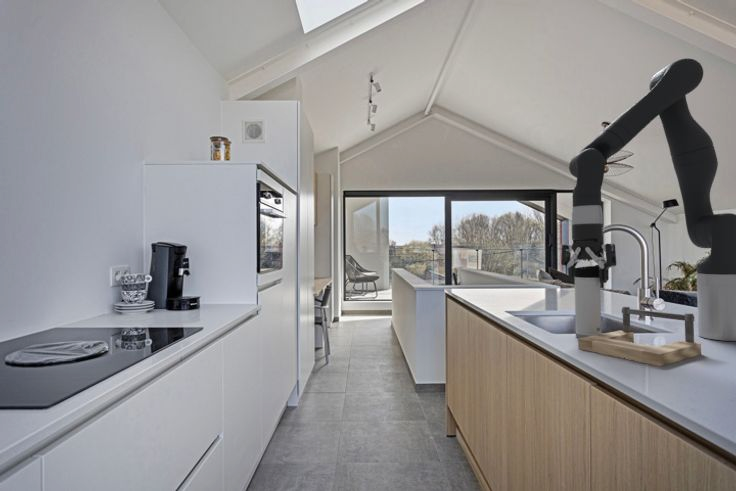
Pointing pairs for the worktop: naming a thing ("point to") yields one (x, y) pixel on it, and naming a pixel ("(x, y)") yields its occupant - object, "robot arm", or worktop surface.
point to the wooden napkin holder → (662, 355)
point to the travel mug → (587, 301)
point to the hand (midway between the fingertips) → (587, 281)
